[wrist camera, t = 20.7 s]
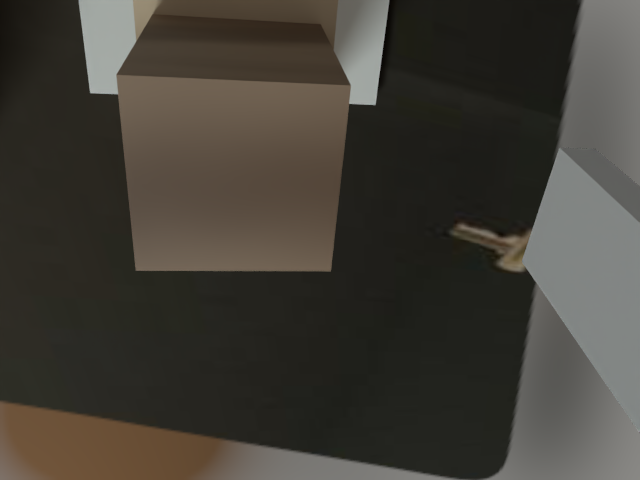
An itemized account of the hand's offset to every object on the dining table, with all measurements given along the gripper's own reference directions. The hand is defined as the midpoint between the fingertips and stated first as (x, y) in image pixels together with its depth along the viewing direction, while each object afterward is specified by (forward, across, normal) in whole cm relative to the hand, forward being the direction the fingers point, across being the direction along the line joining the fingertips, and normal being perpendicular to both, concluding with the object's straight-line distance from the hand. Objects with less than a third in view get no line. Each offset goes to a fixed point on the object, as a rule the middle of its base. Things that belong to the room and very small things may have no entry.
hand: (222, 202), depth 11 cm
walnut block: (+9, 0, -1) cm, 9 cm away
